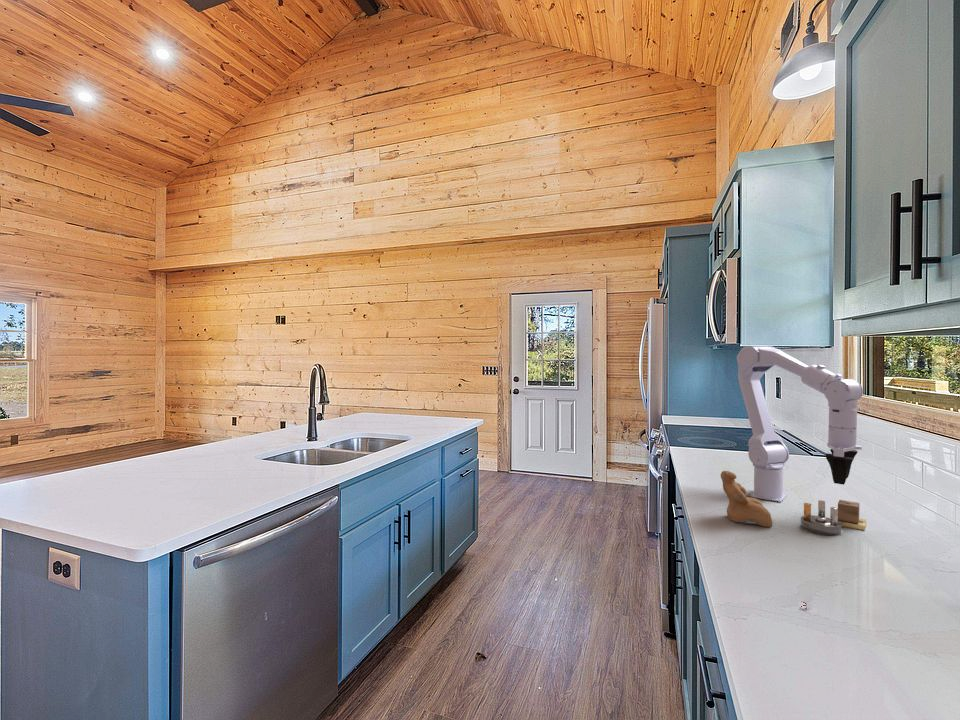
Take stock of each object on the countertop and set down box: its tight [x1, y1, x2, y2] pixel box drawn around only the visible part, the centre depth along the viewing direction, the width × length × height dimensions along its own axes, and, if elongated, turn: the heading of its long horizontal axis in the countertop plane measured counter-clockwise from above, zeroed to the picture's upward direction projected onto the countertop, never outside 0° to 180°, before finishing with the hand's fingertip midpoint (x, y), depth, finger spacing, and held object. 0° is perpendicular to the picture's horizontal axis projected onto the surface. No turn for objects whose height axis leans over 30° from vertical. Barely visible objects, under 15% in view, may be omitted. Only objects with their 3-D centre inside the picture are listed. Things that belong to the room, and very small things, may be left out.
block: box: [837, 499, 860, 523], centre depth 121 cm, size 4×4×4 cm
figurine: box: [720, 470, 773, 528], centre depth 124 cm, size 11×9×15 cm
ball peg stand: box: [800, 499, 843, 537], centre depth 117 cm, size 8×8×6 cm
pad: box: [838, 517, 867, 531], centre depth 121 cm, size 6×6×1 cm
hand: (841, 480), depth 125 cm, fingers open, 7 cm apart
